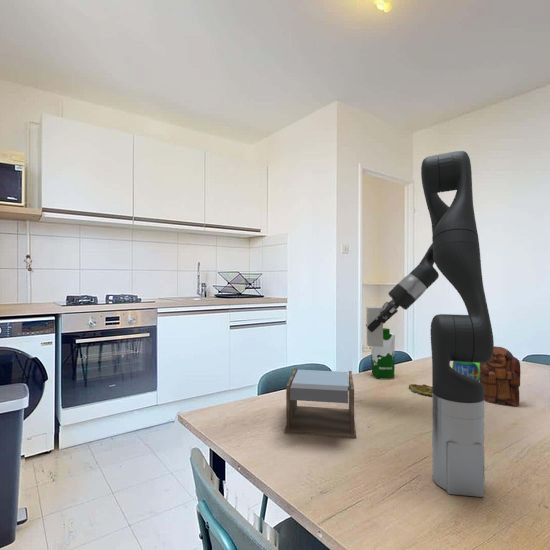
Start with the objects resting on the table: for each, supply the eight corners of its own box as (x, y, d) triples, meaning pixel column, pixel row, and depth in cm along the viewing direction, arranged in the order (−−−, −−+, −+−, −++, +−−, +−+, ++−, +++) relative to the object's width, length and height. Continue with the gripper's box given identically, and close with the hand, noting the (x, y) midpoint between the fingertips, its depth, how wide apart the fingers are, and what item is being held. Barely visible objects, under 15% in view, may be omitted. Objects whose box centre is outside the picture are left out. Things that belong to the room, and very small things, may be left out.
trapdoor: (350, 403, 86) (350, 390, 86) (288, 399, 89) (288, 387, 89) (347, 378, 108) (347, 368, 108) (297, 376, 111) (297, 366, 111)
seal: (401, 393, 131) (442, 404, 120) (401, 380, 131) (441, 390, 120) (415, 386, 137) (455, 395, 126) (414, 373, 137) (454, 382, 125)
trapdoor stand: (356, 438, 91) (356, 389, 91) (284, 433, 94) (284, 385, 94) (353, 412, 109) (353, 371, 109) (292, 408, 112) (292, 368, 113)
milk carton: (375, 379, 144) (375, 329, 145) (369, 373, 154) (369, 326, 154) (397, 379, 145) (397, 329, 145) (389, 373, 154) (389, 326, 154)
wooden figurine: (477, 400, 120) (476, 346, 120) (480, 395, 125) (480, 343, 125) (520, 408, 113) (519, 350, 113) (521, 403, 118) (521, 347, 118)
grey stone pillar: (383, 346, 112) (382, 308, 112) (367, 346, 113) (367, 307, 113) (381, 344, 117) (380, 307, 117) (366, 343, 118) (366, 306, 118)
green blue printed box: (444, 378, 147) (444, 353, 147) (469, 378, 147) (469, 353, 147) (465, 390, 131) (465, 362, 131) (493, 390, 131) (493, 362, 131)
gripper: (395, 283, 121) (358, 318, 123) (402, 283, 107) (361, 322, 109) (411, 298, 120) (374, 334, 122) (421, 301, 106) (379, 341, 108)
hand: (368, 328), depth 115 cm, fingers closed on grey stone pillar, 5 cm apart
